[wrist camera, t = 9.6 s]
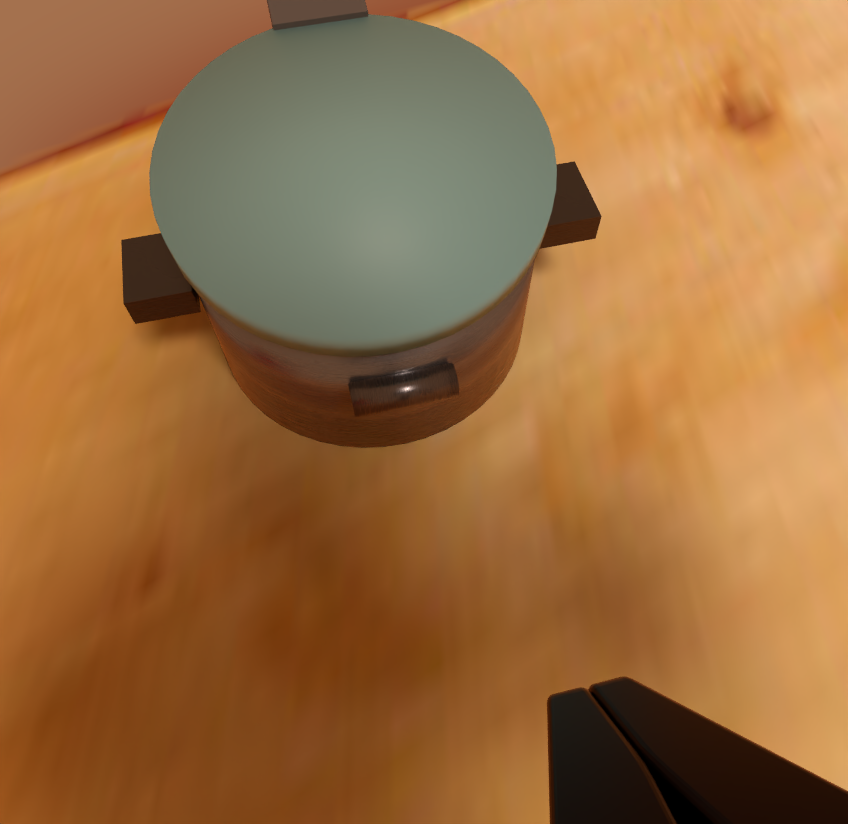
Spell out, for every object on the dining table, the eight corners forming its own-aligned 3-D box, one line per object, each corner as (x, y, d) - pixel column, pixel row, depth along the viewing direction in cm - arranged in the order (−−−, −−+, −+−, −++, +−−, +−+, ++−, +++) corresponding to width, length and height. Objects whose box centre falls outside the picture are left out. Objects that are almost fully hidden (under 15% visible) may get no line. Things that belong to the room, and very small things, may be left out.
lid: (601, 312, 20) (613, 289, 19) (182, 395, 19) (168, 375, 18) (465, -56, 26) (468, -91, 25) (134, -10, 25) (121, -45, 24)
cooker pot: (626, 420, 25) (668, 332, 20) (180, 516, 23) (121, 443, 19) (523, 180, 31) (538, 71, 26) (160, 243, 29) (112, 139, 25)
